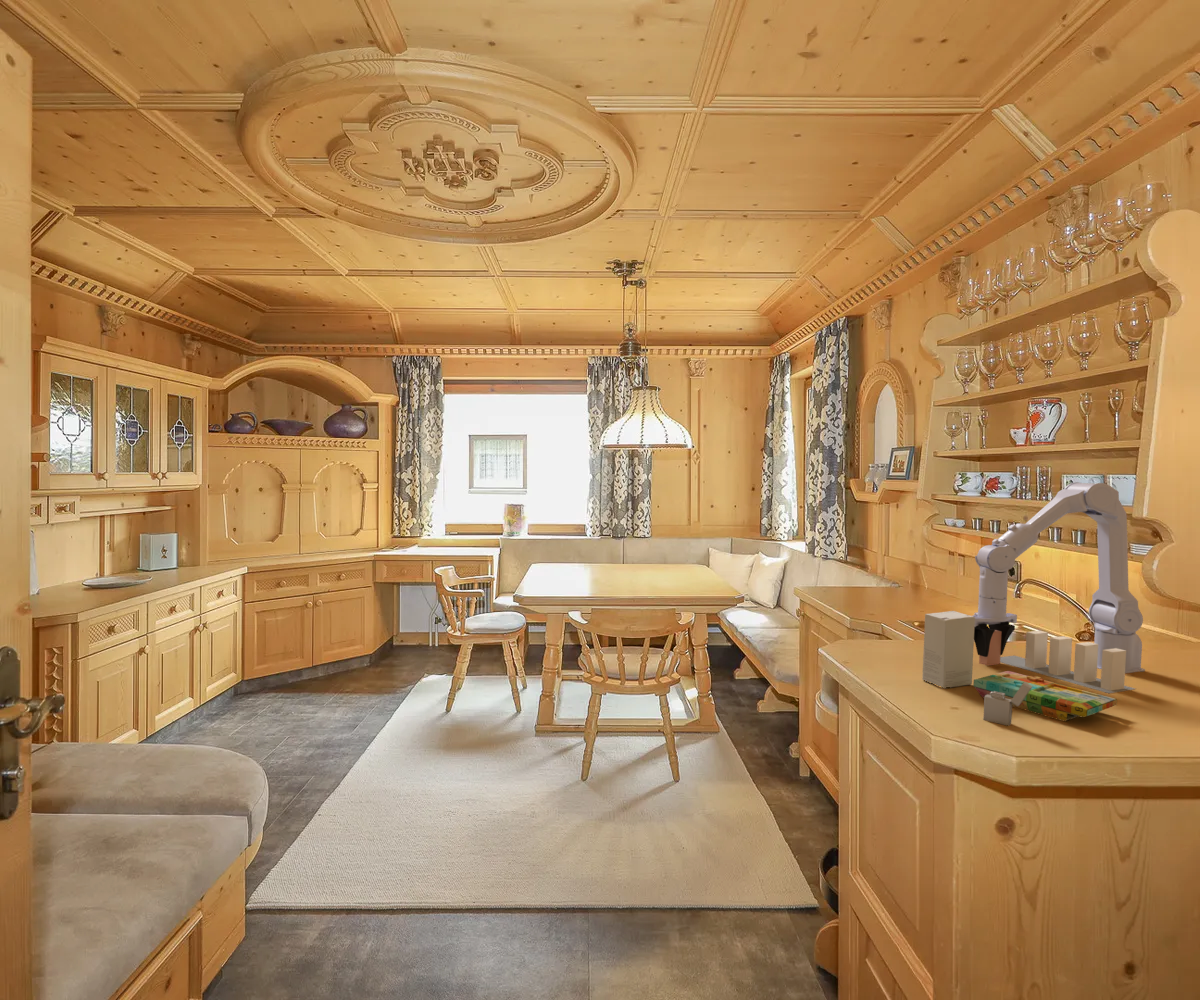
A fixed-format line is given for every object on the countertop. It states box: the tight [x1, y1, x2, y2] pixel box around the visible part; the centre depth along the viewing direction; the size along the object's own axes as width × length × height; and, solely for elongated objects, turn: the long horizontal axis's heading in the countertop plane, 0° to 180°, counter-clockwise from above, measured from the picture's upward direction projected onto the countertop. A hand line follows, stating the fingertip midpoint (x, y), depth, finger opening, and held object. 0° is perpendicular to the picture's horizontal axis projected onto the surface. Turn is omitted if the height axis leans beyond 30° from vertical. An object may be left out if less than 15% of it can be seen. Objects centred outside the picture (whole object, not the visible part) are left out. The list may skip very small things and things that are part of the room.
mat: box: [1000, 655, 1136, 695], centre depth 154 cm, size 9×27×1 cm, turn 23°
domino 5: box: [1100, 648, 1126, 691], centre depth 143 cm, size 4×2×8 cm, turn 113°
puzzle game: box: [973, 670, 1118, 722], centre depth 131 cm, size 12×5×20 cm
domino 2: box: [1024, 630, 1049, 669], centre depth 158 cm, size 4×2×8 cm, turn 113°
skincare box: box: [921, 610, 975, 689], centre depth 145 cm, size 8×6×15 cm
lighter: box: [982, 682, 1032, 727], centre depth 122 cm, size 7×2×8 cm, turn 46°
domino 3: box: [1048, 635, 1073, 676], centre depth 153 cm, size 4×2×8 cm, turn 113°
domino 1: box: [978, 630, 1002, 666], centre depth 160 cm, size 4×2×8 cm, turn 113°
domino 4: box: [1073, 641, 1098, 683], centre depth 148 cm, size 4×2×8 cm, turn 113°
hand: (990, 654), depth 160 cm, fingers closed on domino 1, 4 cm apart
